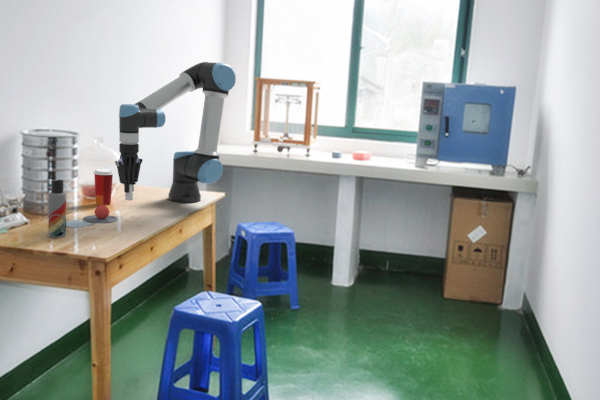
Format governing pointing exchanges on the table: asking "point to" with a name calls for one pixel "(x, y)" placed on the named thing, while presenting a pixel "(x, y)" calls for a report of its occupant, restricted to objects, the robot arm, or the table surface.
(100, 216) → the ball
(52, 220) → the lotion bottle
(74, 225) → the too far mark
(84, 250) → the table surface
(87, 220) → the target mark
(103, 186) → the coffee cup
